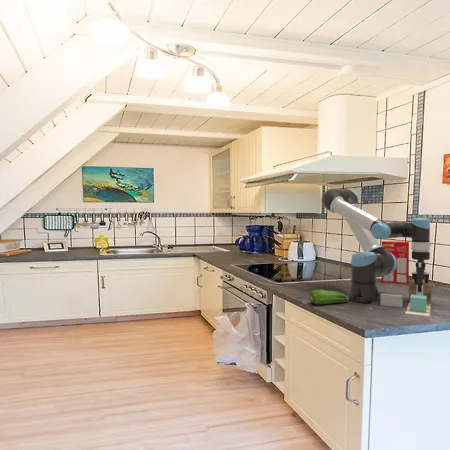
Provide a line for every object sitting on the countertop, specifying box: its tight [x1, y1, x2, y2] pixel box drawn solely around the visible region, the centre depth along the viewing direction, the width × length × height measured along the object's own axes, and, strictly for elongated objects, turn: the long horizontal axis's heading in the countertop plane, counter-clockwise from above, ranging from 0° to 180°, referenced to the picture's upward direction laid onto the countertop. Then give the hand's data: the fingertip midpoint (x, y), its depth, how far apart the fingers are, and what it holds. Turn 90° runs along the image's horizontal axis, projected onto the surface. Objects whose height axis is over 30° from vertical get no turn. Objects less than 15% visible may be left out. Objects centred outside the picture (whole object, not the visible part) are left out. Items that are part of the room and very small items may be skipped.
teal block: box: [410, 294, 427, 313], centre depth 157 cm, size 6×6×6 cm
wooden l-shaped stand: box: [405, 281, 432, 317], centre depth 161 cm, size 24×9×10 cm, turn 149°
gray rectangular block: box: [380, 292, 404, 309], centre depth 158 cm, size 20×9×6 cm, turn 149°
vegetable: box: [308, 289, 349, 306], centre depth 175 cm, size 7×7×20 cm
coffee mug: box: [411, 271, 430, 284], centre depth 196 cm, size 12×9×10 cm
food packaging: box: [381, 240, 410, 285], centre depth 219 cm, size 15×5×25 cm, turn 65°
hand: (420, 295), depth 170 cm, fingers open, 13 cm apart
